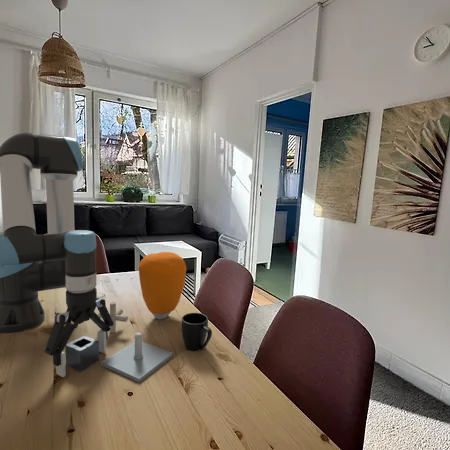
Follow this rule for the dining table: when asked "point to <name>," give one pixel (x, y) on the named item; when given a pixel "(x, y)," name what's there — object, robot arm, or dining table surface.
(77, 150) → the robot arm
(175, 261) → the orange egg-shaped ornament
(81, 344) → the collar
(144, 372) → the post block
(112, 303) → the light grey toy jack
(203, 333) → the mug
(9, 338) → the dining table surface
